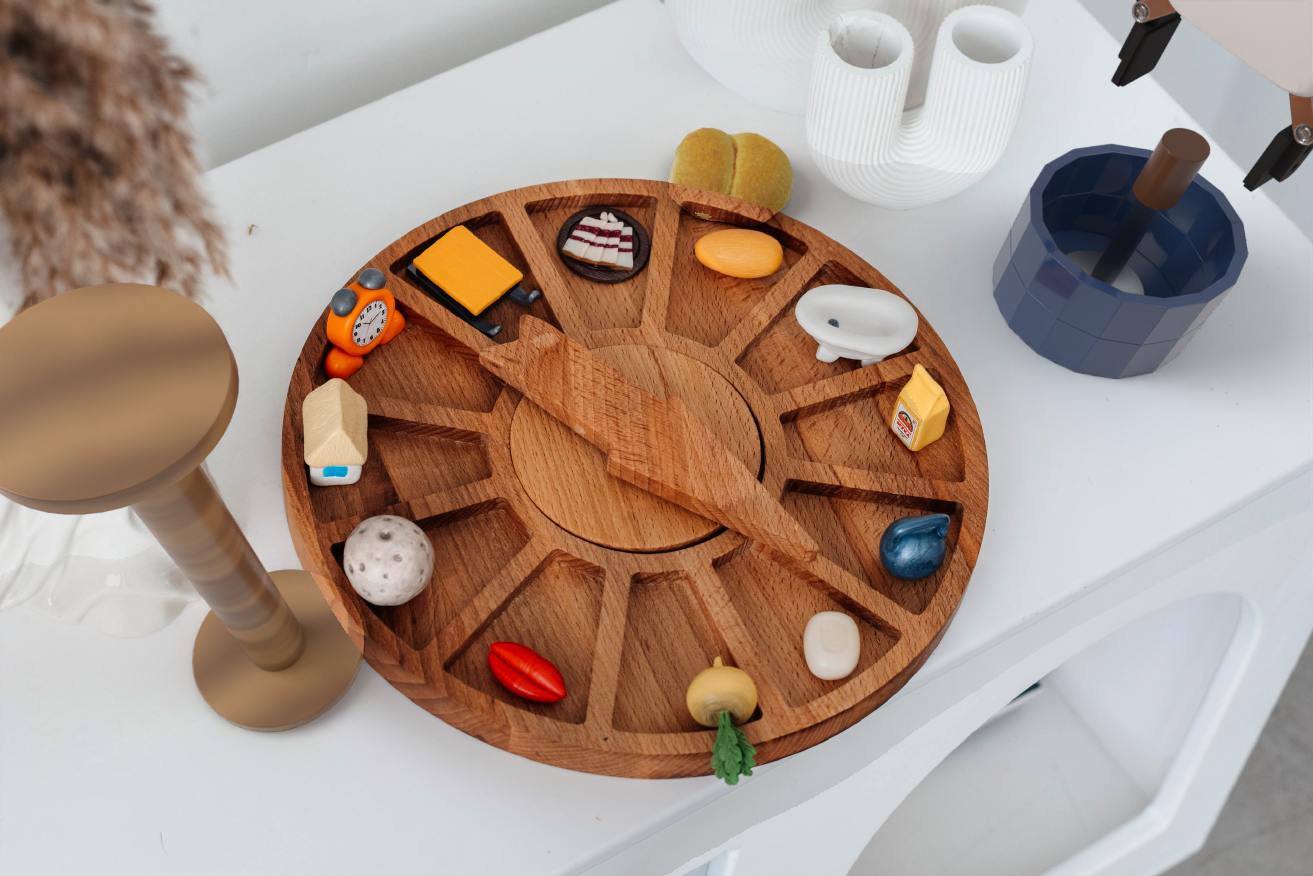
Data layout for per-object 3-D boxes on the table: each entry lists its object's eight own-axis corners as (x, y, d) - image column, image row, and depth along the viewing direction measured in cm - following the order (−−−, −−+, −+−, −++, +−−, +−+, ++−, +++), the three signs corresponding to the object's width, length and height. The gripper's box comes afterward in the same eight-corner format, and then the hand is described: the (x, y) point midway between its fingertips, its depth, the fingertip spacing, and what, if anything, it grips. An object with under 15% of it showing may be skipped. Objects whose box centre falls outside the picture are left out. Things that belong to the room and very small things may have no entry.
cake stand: (394, 670, 59) (275, 415, 37) (239, 766, 56) (6, 551, 34) (319, 546, 62) (169, 245, 40) (169, 630, 59) (-83, 354, 37)
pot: (1227, 323, 75) (1291, 245, 68) (1094, 415, 70) (1148, 342, 63) (1082, 200, 80) (1128, 117, 73) (950, 278, 75) (986, 197, 68)
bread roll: (786, 239, 76) (795, 199, 73) (661, 222, 77) (664, 181, 73) (794, 156, 81) (803, 115, 77) (675, 140, 81) (679, 98, 77)
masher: (1156, 306, 74) (1265, 156, 62) (1093, 348, 72) (1193, 200, 60) (1088, 247, 77) (1179, 91, 65) (1025, 285, 75) (1108, 132, 63)
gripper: (1610, -94, 45) (1359, 194, 60) (1277, -284, 52) (1125, 18, 66) (1511, -33, 42) (1274, 252, 57) (1174, -241, 49) (1040, 62, 64)
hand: (1194, 126), depth 62 cm, fingers open, 9 cm apart
